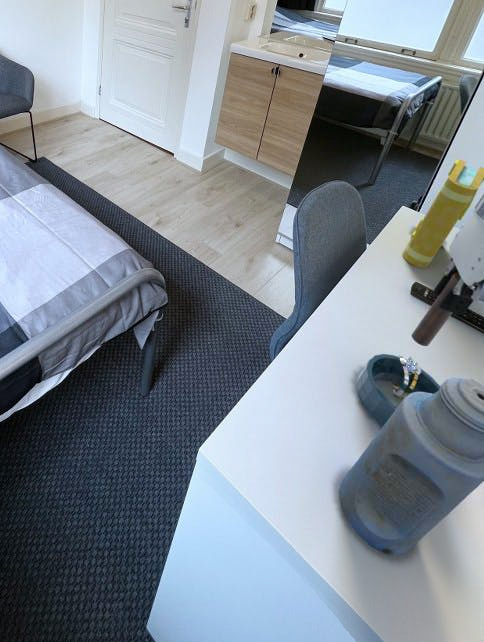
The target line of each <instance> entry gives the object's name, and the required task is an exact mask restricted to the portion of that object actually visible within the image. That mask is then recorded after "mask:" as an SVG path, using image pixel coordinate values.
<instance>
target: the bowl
mask: <svg viewBox="0 0 484 642" xmlns="http://www.w3.org/2000/svg"><path fill="white" fill-rule="evenodd" d="M415 371H416V370H415ZM408 375H409V381H408V385H409V383H410V381H411V376H412V374H411V375H410V374H409V373H408ZM378 380H382V381H388V382H390V383H392V384H393V383H394V384H396V385H398V387H400V388H401V387H402V385H403V382H404V371H403V367H402V365H401V362H400V358H399V357H398V356H397V355H395V354H387V353H380V354H375V355H373V356H372V357H371V358H369V360H368V361H367V362H366V363H365V365H364V366H363V369H362V370H361V371H360V373H359V375H358V377H357V380H356V382H355V383H356V384H355V385H356V392H357V395H358V397H359V399H360V401H361V403H362V405H363V407H364V408H365V409H366V410H367V412H368V413H369V415H370V416H371V417H372V418H373V419H374V420H375V421H376V422H378V424H380V425H381V426H382V427H383V426H384V425H385V423H386V422H387V421H388V419H389V418H390V417H391V415H392V414H393V413H394V411H395V410H396V409H397V407H398V406H397V405H395V404H394V403H393V402H391V401H390V400H389V399H388V398H387V397H386V395H385V394H384V393H383V392H382V391H381V390H380V388H379V387H378V385H377V382H376V381H378ZM408 385H407V387H408ZM440 386H441V385H440V384H439V383H438V382H437V381H436V380H435V379H434V378H433V377H432V375H430V374H429V373H428V372H426V371H425V370H424V369H422V368H421V373H420V374H418V379H417V382H416V384H415V386H414V388H413V389H412V391H411V392H410V393H409V394H411V393H414V392H426V393H431V394H434V393H436V392H437V391H439V389H440Z"/></svg>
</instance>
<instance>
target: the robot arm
mask: <svg viewBox="0 0 484 642" xmlns="http://www.w3.org/2000/svg"><path fill="white" fill-rule="evenodd" d="M449 253H450V256H451V258H450V263H449V264H448V265H447V266H446V268H445V271H444V272H445V273H443V276H442V277H441V279H440V280H439V282H438V283H437V284H436V286H435V287H434V288H433V292H434V294H435V295H437V296H439V295H440V293H441V292H442V290H443V289H444V288H445V286H446V285H447V283H448V282H449V280H450V279H451V278H452V276H453V275H454V274H455V273H459V274H460V276H461V278H460V280H459V281H458V283H457V284H456V286H455V287H454V289H449V291H448V292H447V293H446V295H445V296H444V298H443V299H442V300H441V302H440V303H439V307H440V308H441V309H444V310H446V311H449V312H452V314H454V315H455V314H456V315H457V316H458V315H459V316H463V315H465V313H466V311H467V310H468V309H470V306H471V305H472V304H473V302H474V301H475V302H479V303H481V304H484V193H483V194H482V196H481V197H480V199H479V200H478V202H477V203H476V205H475V206H474V208H473V210H472V213H471V215H470V216H468V219H466V221H464V223H463V225H462V226H461V227H460V228H459V230H458V231H457V232H456V234H455V236H454V237H453V239H452V240H451V242H450V244H449ZM466 285H468V286H472V287H474V288H472V287H471V288H465V287H466Z"/></svg>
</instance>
